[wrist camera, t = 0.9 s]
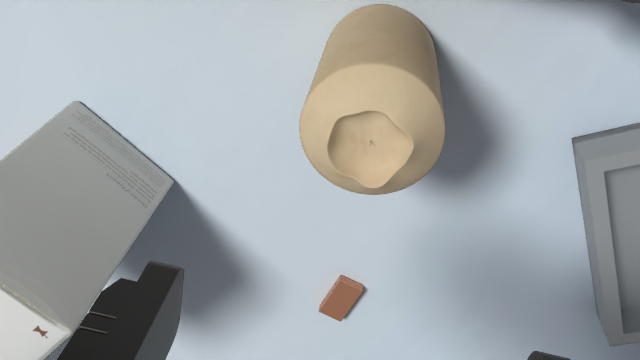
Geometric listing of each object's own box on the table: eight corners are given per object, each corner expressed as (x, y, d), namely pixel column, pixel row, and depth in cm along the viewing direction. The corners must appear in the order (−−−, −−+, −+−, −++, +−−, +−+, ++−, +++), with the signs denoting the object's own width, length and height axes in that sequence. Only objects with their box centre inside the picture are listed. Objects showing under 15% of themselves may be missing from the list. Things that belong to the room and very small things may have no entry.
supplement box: (76, 94, 32) (-87, 225, 22) (179, 181, 35) (76, 339, 24) (13, 169, 36) (-155, 315, 25) (111, 245, 38) (-6, 409, 27)
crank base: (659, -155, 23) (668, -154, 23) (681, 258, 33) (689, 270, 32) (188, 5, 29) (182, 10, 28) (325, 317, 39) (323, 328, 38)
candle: (433, -4, 27) (445, 70, 19) (437, 104, 30) (450, 212, 22) (317, 9, 28) (280, 85, 20) (332, 112, 31) (305, 218, 23)
